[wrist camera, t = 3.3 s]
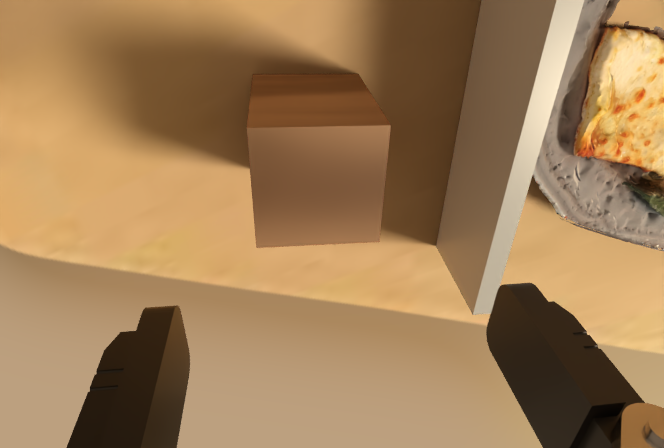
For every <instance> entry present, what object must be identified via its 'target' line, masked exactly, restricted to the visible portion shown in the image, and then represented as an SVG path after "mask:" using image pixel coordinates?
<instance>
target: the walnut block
mask: <svg viewBox="0 0 664 448" xmlns="http://www.w3.org/2000/svg"><path fill="white" fill-rule="evenodd" d="M390 130H391V125H390V123H389V121H388V120H387V118H386V117H385V115H384V114H383V112H382V110H381V109H380V107H379V106H378V104H377V103H376V101H375V99H374V98H373V96H372V95H371V93H370V92H369V90H368V88H367V87H366V85H365V84H364V82H363V81H362V79H361V77H360V76H359V74H253V78H252V87H251V95H250V104H249V112H248V121H247V138H248V150H249V162H250V175H251V187H252V199H253V211H254V224H255V236H256V248H263V247H283V246H304V245H325V244H346V243H367V242H379V240H380V230H381V220H382V210H383V200H384V190H385V180H386V170H387V160H388V150H389V140H390Z"/></svg>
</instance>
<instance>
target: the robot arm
mask: <svg viewBox="0 0 664 448" xmlns="http://www.w3.org/2000/svg"><path fill="white" fill-rule="evenodd" d="M487 342H488V346H489V349H490V351H491V353H492V355H493V356H494V358H495V360H496V362H497V364H498V366H499V368H500V369H501V371H502V373H503V375H504V377H505V379H506V381H507V382H508V384H509V386H510V388H511V390H512V392H513V393H514V395H515V397H516V399H517V401H518V403H519V404H520V406H521V408H522V410H523V412H524V414H525V415H526V417H527V419H528V421H529V423H530V425H531V426H532V428H533V430H534V432H535V434H536V436H537V437H538V439H539V441H540V443H541V445H542V447H543V448H664V408H662V407H659V406H656V405H653V404H648V403H645V402H644V401H643V400H642V399H641V398H640V396H639V395H638V394H637V393H636V392H635V390H634V389H633V388H632V387H631V385H630V384H629V383H628V382H627V380H626V379H625V378H624V377H623V376H622V374H621V373H620V372H619V371H618V369H617V368H616V367H615V366H614V365H613V363H612V362H611V361H610V360H609V358H608V357H607V356H606V355H605V353H604V352H603V351H602V350H601V349H598V347H597V346H598V345H597V344H596V342H595V341H594V340H593V339H592V338H591V336H590V335H587V331H586V330H585V329H584V328H583V327H582V325H581V324H580V323H579V322H578V320H577V319H576V318H575V317H574V316H573V315H572V314H571V313H569V312H568V311H567V310H565V309H564V308H562V307H561V306H560V305H558V304H557V303H555V302H548V301H547V300H546V298H545V297H544V296H543V294H542V293H541V292H540V291H539V289H538V288H537V287H536V286H535V285H534V284H532V283H521V284H506V285H501V286H500V287H499V289H498V291H497V294H496V298H495V301H494V305H493V308H492V312H491V315H490V318H489V322H488V325H487ZM189 368H190V355H189V348H188V343H187V338H186V334H185V329H184V324H183V320H182V315H181V311H180V308H179V307H178V306H165V307H150V308H145V309H144V310H143V312H142V315H141V318H140V321H139V324H138V327H137V330H136V331H129V332H120V334H119V335H118V336H117V337H116V338H115V339H114V340H113V341H112V342H111V344H110V345H109V346H108V347H107V348H106V349H105V350H104V353H103V355H102V358H101V360H100V363H99V366H98V368H97V374H96V375H95V376H94V378H93V381H92V384H91V386H90V392H88V394H87V396H86V399H85V402H84V404H83V407H82V410H81V412H80V414H79V417H78V420H77V422H76V425H75V427H74V430H73V433H72V435H71V438H70V440H69V443H68V445H67V448H177V442H178V436H179V431H180V425H181V419H182V413H183V407H184V402H185V396H186V390H187V384H188V378H189V371H190V369H189Z"/></svg>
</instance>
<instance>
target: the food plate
mask: <svg viewBox="0 0 664 448" xmlns="http://www.w3.org/2000/svg"><path fill="white" fill-rule="evenodd" d="M619 1H620V0H584V3H583V7H582V10H581V13H580V17H579V20H578V23H577V27H576V30H575V34H574V37H573V40H572V44H571V47H570V50H569V54H568V57H567V61H566V64H565V67H564V71H563V74H562V77H561V81H560V84H559V88H558V91H557V94H556V98H555V101H554V104H553V108H552V111H551V115H550V118H549V121H548V125H547V128H546V132H545V135H544V138H543V142H542V145H541V148H540V152H539V155H538V159H537V162H536V165H535V169H534V172H533V175H534V176H533V177H534V178H535V183H536V182H537V184H538V185H539V189H540V190H541V191H542V190H543V191H542V193H543V194H545V196H546V197H547V199H548V200H549V201H550V202H551V204H552V205H553V207H554V208H555V210H556V212H557V214H559V215H560V216H561V217H563V218H566V220H567V219H571V220H572V221H574V222H575V223H577V222H578V223H577V224H579V225H577V224H574V225H576V226H578V227H581V228H584V229H587V230H590V231H593V232H597V233H600V234H603V235H606V236H609V237H612V238H616V239H620V240H622V241H625V242H631V243H633V244H637V245H641V246H645V247H648V248H652V249H654V248H655V249H656V250H658V248H659V249H660V248H661V249H662V250H660V251H664V38H663V37H664V31H663V30H662V28H660V27H655V28H654V30H650V29H649V28H648V27H639V26H630V25H628V24H629V21H628V22H625V24H624V29H620V28H618V27H617V26H616V25H615V26H609V27H605V23H606V21H607V20H608V19H609V18H610V17H611V16H612V14H613V12H614V10H615V8H616V6H617V3H618V2H619ZM562 220H563V219H562ZM567 222H568V221H567ZM569 223H570V222H569ZM572 224H573V223H572ZM580 225H582V226H580ZM583 226H584V227H583ZM586 227H588V228H586ZM589 228H591V229H592V230H591V229H589ZM593 229H594V230H596V231H594V230H593ZM598 231H600V232H598ZM601 232H602V233H601ZM605 233H606V234H605ZM643 244H644V245H643ZM646 245H648V246H646ZM649 246H650V247H649Z"/></svg>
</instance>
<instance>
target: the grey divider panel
mask: <svg viewBox="0 0 664 448" xmlns="http://www.w3.org/2000/svg"><path fill="white" fill-rule="evenodd" d="M583 3H584V0H481V6H480V11H479V17H478V22H477V27H476V33H475V38H474V44H473V49H472V54H471V60H470V65H469V71H468V76H467V82H466V87H465V92H464V98H463V103H462V109H461V114H460V120H459V125H458V130H457V136H456V141H455V147H454V152H453V157H452V163H451V168H450V174H449V179H448V185H447V190H446V195H445V201H444V206H443V212H442V217H441V223H440V228H439V233H438V239H437V244H436V247H437V249H438V251H439V253H440V255H441V256H442V258H443V260H444V262H445V264H446V266H447V268H448V269H449V271H450V273H451V275H452V277H453V279H454V281H455V282H456V284H457V286H458V288H459V290H460V292H461V294H462V295H463V297H464V299H465V301H466V303H467V305H468V307H469V308H470V310H471V312H472V314H473V315H477V314H491V312H492V308H493V305H494V301H495V298H496V294H497V291H498V289H499V287H500V283H501V280H502V277H503V273H504V270H505V267H506V263H507V260H508V256H509V253H510V250H511V246H512V243H513V240H514V236H515V233H516V229H517V226H518V223H519V219H520V216H521V213H522V209H523V206H524V202H525V199H526V196H527V192H528V189H529V186H530V182H531V179H532V175H533V172H534V169H535V165H536V162H537V159H538V155H539V152H540V148H541V145H542V142H543V138H544V135H545V132H546V128H547V125H548V121H549V118H550V115H551V111H552V108H553V104H554V101H555V98H556V94H557V91H558V88H559V84H560V81H561V77H562V74H563V71H564V67H565V64H566V61H567V57H568V54H569V50H570V47H571V44H572V40H573V37H574V34H575V30H576V27H577V23H578V20H579V17H580V13H581V10H582V7H583Z"/></svg>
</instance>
